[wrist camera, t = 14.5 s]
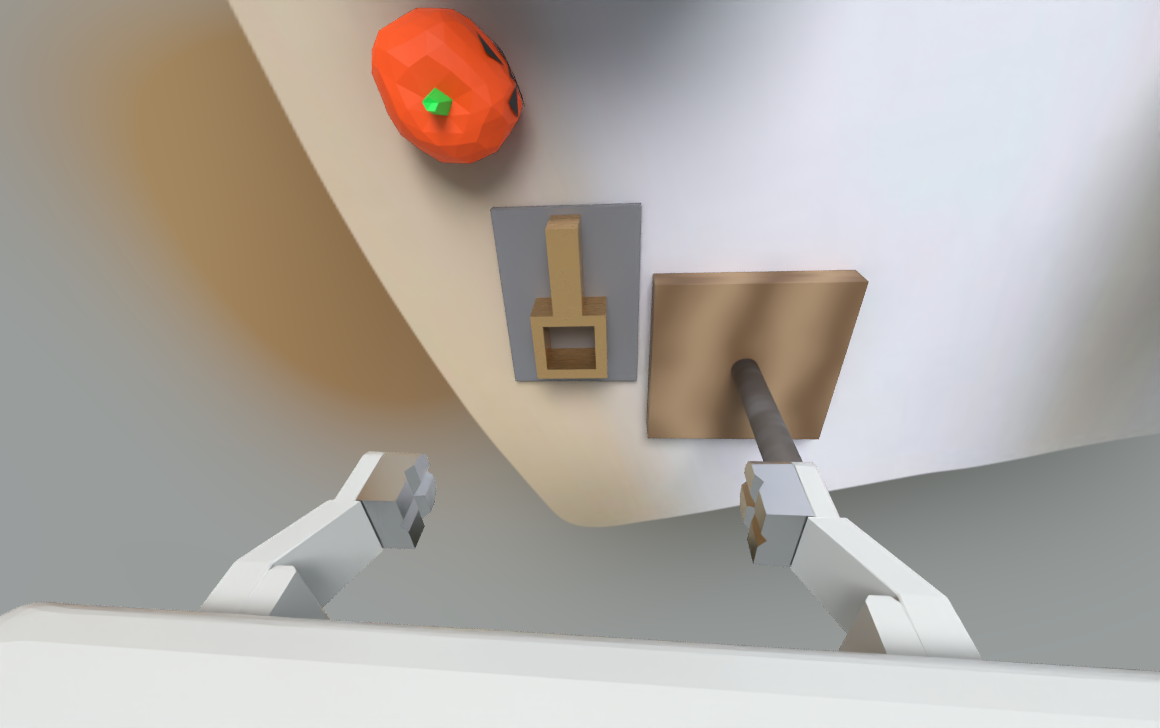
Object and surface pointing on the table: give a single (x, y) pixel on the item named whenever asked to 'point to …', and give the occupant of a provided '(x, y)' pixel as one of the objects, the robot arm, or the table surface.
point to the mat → (605, 273)
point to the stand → (749, 354)
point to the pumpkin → (445, 85)
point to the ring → (568, 308)
